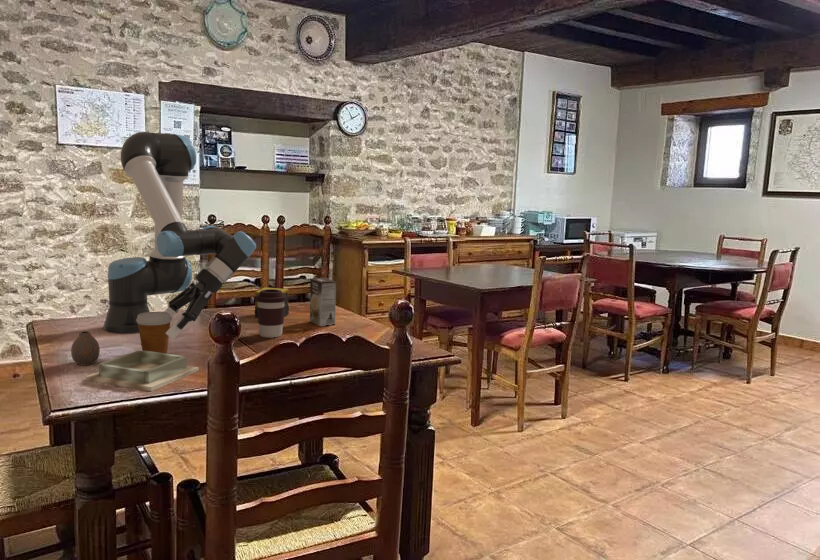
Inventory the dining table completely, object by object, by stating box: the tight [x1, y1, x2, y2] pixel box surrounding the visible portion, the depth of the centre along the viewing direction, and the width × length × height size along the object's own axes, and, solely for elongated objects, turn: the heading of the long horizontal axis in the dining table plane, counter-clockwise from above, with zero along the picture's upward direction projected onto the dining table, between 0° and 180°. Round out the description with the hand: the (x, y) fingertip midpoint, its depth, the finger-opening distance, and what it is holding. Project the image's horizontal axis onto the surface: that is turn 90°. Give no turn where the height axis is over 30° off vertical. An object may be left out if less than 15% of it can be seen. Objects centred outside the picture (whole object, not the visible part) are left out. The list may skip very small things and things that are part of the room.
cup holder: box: [85, 350, 200, 392], centre depth 164 cm, size 20×18×4 cm
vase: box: [70, 330, 101, 366], centre depth 172 cm, size 7×7×9 cm
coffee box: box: [309, 277, 337, 327], centre depth 229 cm, size 9×6×16 cm
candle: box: [254, 287, 290, 319], centre depth 238 cm, size 10×10×10 cm
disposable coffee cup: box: [136, 311, 173, 354], centre depth 181 cm, size 10×10×12 cm
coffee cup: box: [254, 289, 286, 339], centre depth 209 cm, size 10×10×15 cm
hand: (162, 331), depth 181 cm, fingers open, 13 cm apart
